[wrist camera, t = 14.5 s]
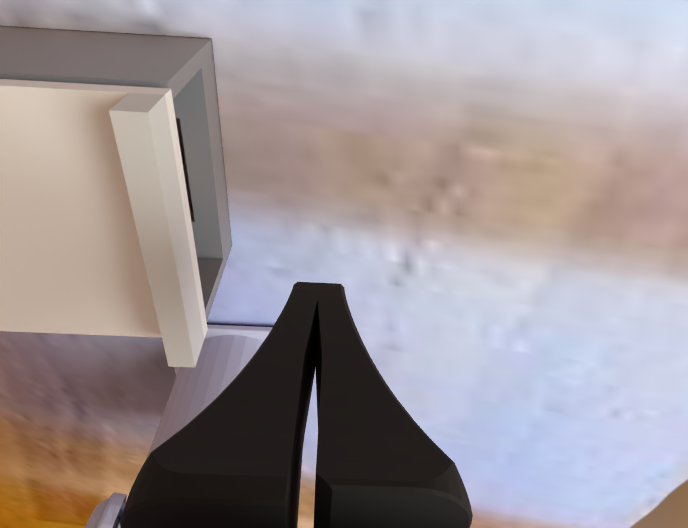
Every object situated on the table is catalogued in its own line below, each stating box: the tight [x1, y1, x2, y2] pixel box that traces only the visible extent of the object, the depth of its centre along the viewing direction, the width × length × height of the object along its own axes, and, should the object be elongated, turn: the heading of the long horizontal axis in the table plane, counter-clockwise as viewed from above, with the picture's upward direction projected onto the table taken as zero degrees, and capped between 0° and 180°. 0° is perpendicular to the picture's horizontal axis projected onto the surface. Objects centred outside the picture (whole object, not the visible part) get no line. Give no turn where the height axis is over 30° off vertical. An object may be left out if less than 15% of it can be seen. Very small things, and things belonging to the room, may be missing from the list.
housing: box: [0, 26, 232, 321], centre depth 20 cm, size 10×14×6 cm
